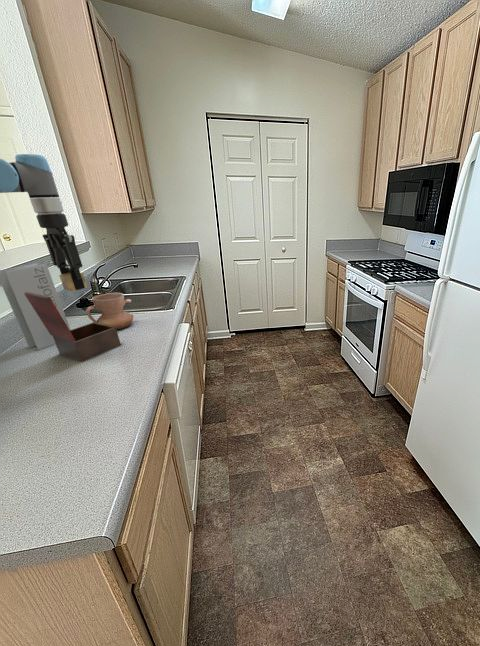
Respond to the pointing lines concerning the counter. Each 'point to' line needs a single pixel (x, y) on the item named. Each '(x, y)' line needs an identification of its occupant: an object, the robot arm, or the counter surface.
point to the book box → (88, 341)
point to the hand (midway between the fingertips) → (75, 287)
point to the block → (70, 281)
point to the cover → (50, 316)
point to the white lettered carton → (27, 318)
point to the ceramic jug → (111, 310)
